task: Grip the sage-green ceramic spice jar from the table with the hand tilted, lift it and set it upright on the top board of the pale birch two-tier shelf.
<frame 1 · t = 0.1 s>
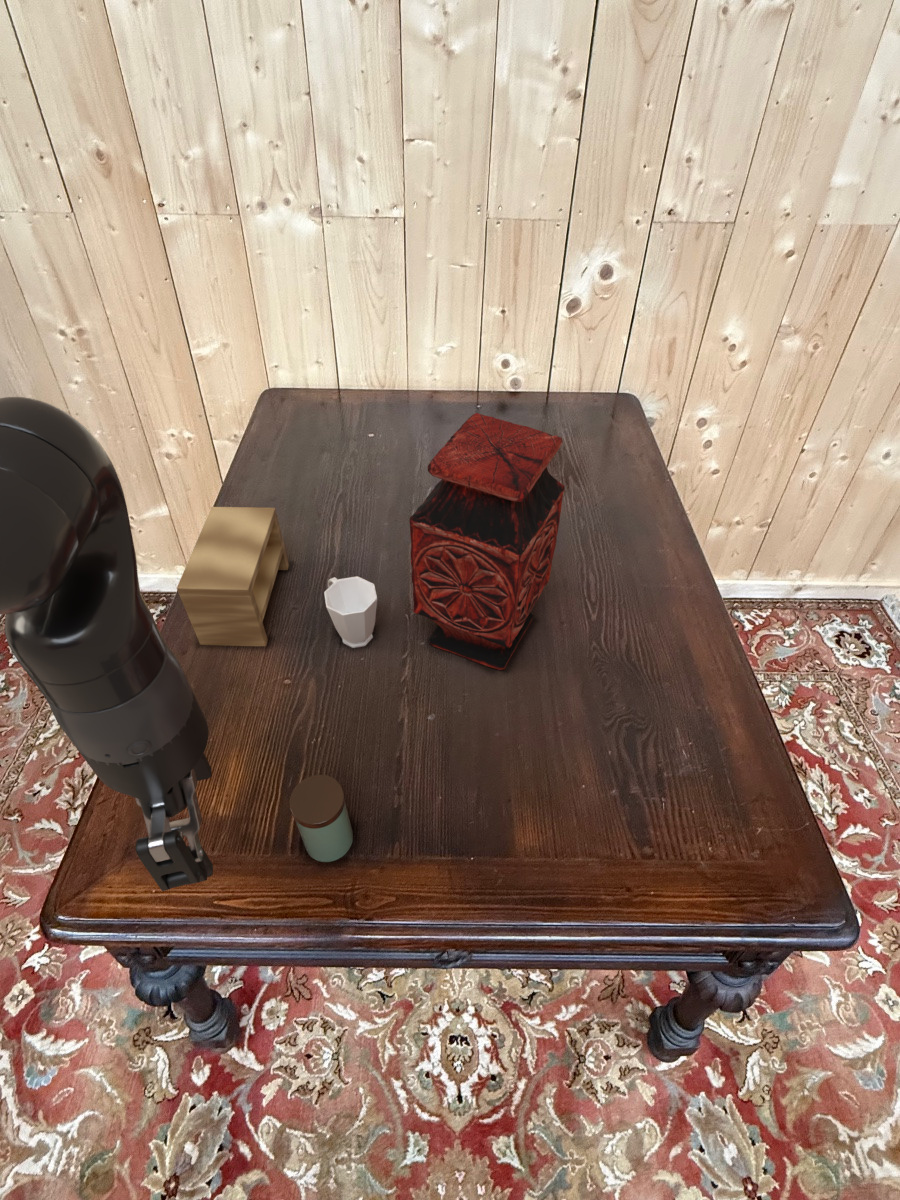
hand: (199, 823, 56), 19 cm above the table, tool pointing down, fingers open, 8 cm apart
shelf: (247, 602, 99), on the table
red carved wooden box: (482, 633, 95), on the table
cup: (351, 629, 95), on the table
jar: (328, 838, 75), on the table
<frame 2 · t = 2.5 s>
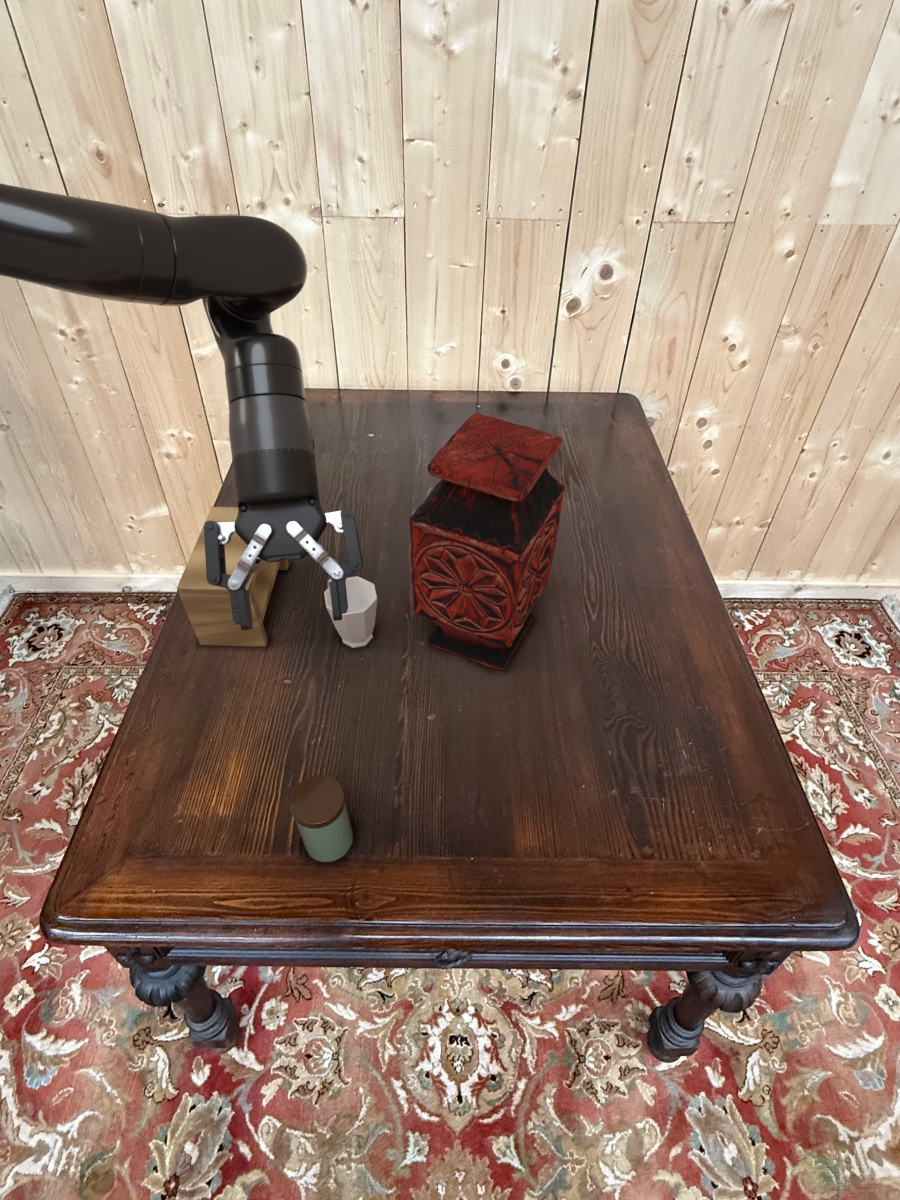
hand: (293, 624, 65), 23 cm above the table, tool tilted 45°, fingers open, 8 cm apart
nothing on the table moved.
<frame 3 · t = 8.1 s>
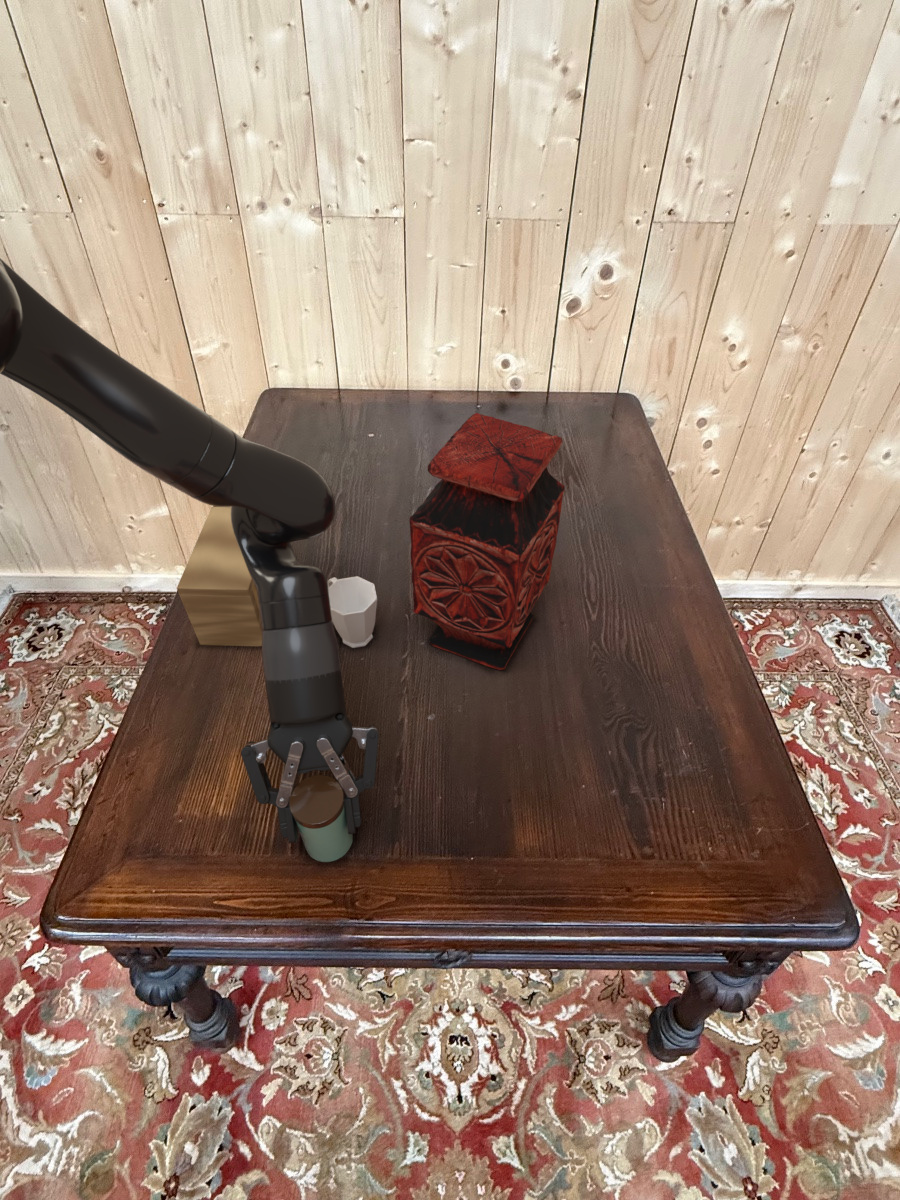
hand: (323, 835, 70), 5 cm above the table, tool tilted 45°, fingers closed on jar, 5 cm apart
jar: (328, 838, 75), on the table, touching gripper
everything else where it was.
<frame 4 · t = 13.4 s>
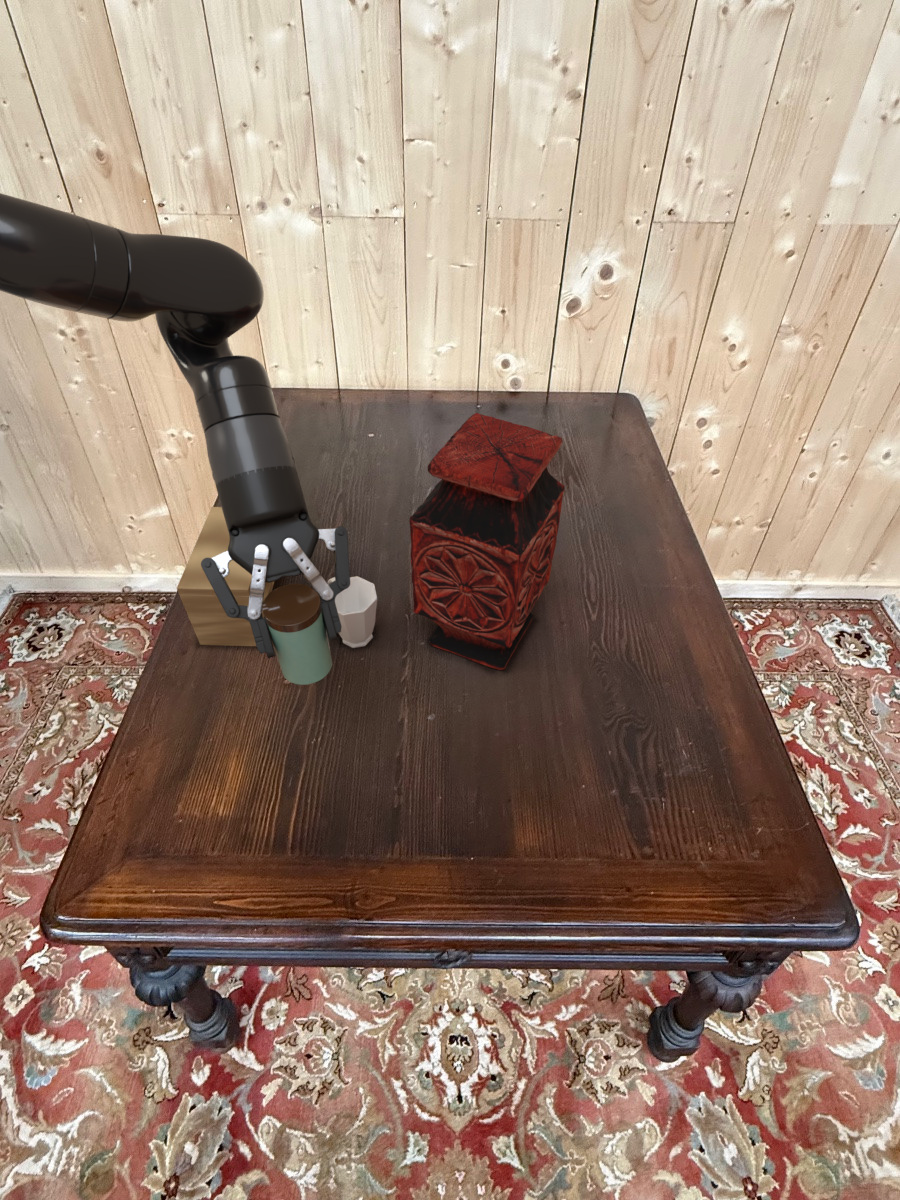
hand: (302, 647, 66), 21 cm above the table, tool tilted 45°, fingers closed on jar, 5 cm apart
jar: (306, 664, 70), point 16 cm above the table, touching gripper
everything else where it was.
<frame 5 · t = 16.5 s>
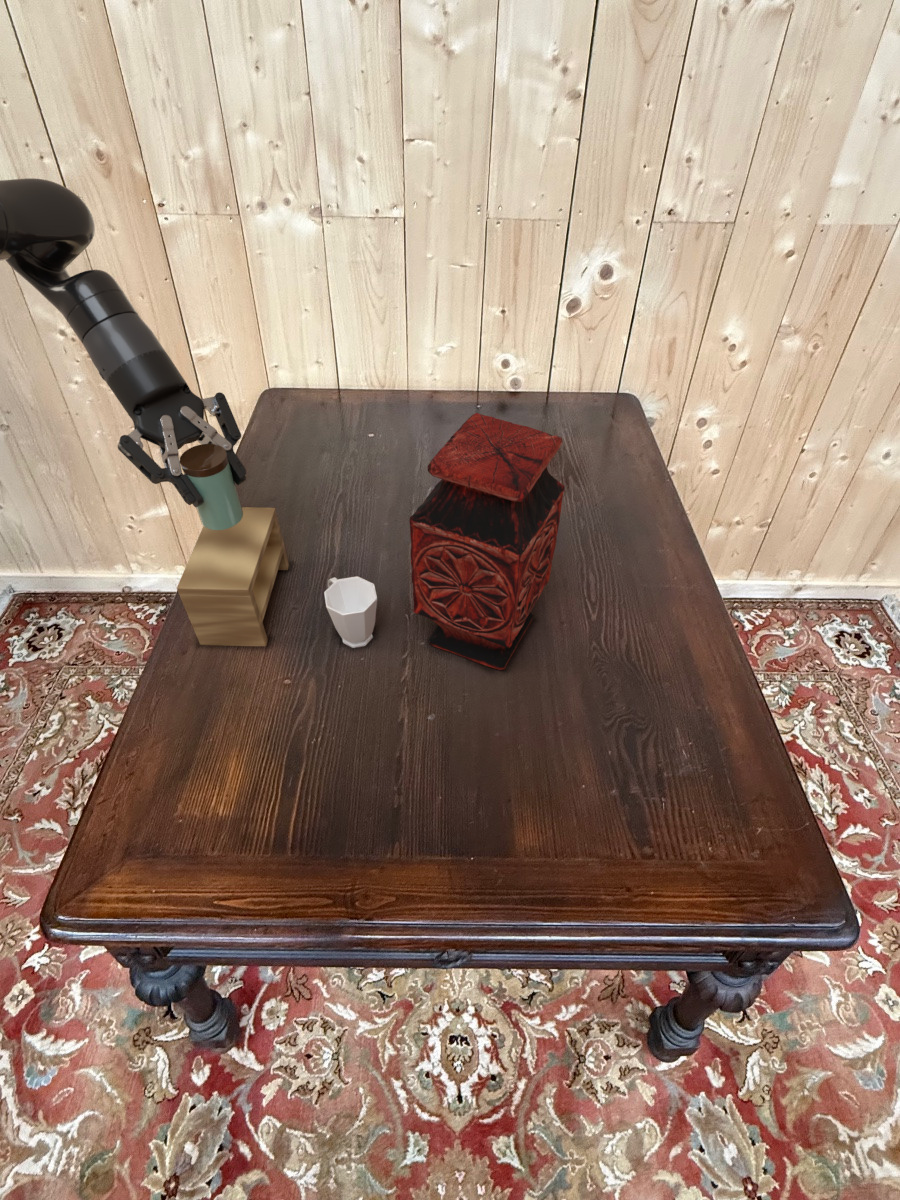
hand: (221, 492, 82), 21 cm above the table, tool tilted 45°, fingers closed on jar, 5 cm apart
jar: (222, 516, 87), point 16 cm above the table, touching gripper
everything else where it was.
when the fingers open (16 cm above the table, at t = 19.1 s): jar stays where it is, resting on shelf.
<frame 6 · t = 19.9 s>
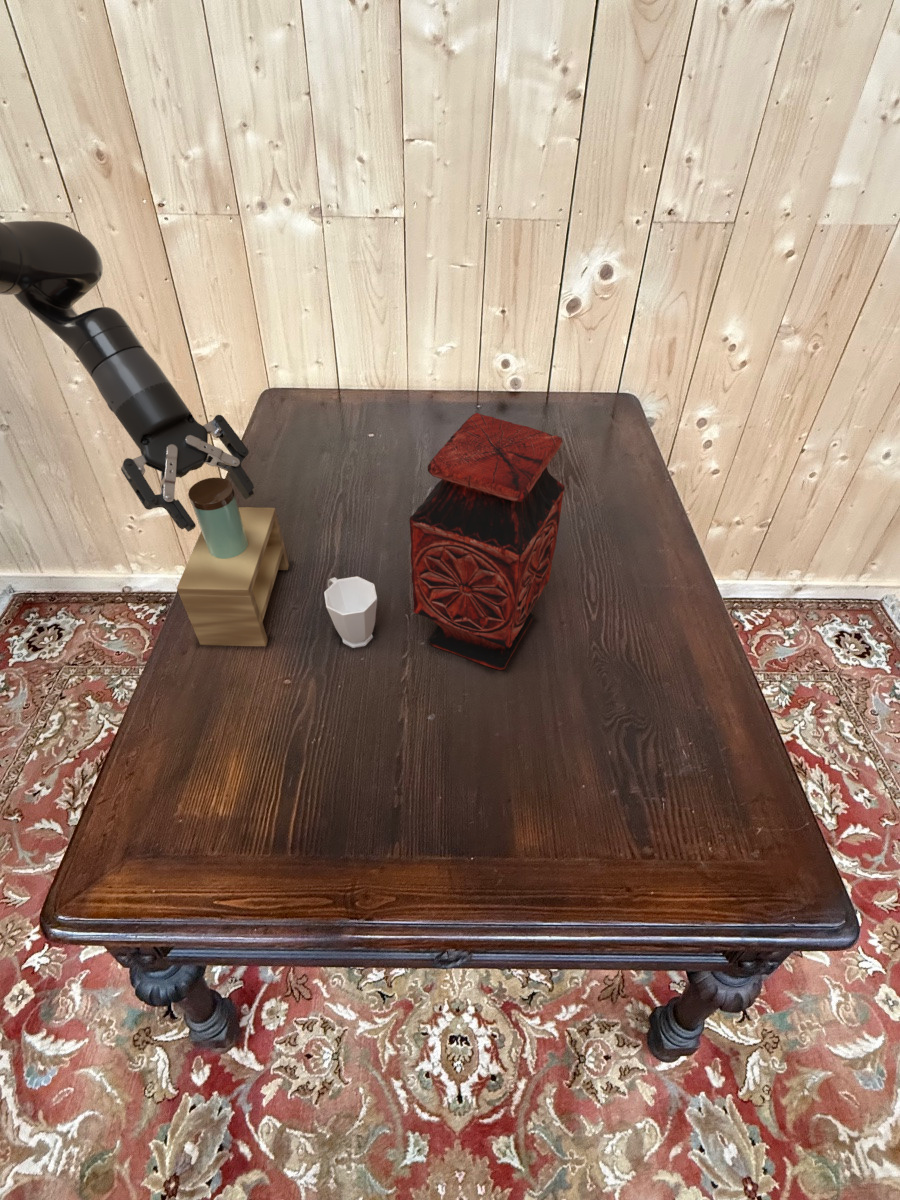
hand: (221, 512, 86), 17 cm above the table, tool tilted 45°, fingers open, 8 cm apart
jar: (228, 545, 91), point 11 cm above the table, touching shelf
everything else where it was.
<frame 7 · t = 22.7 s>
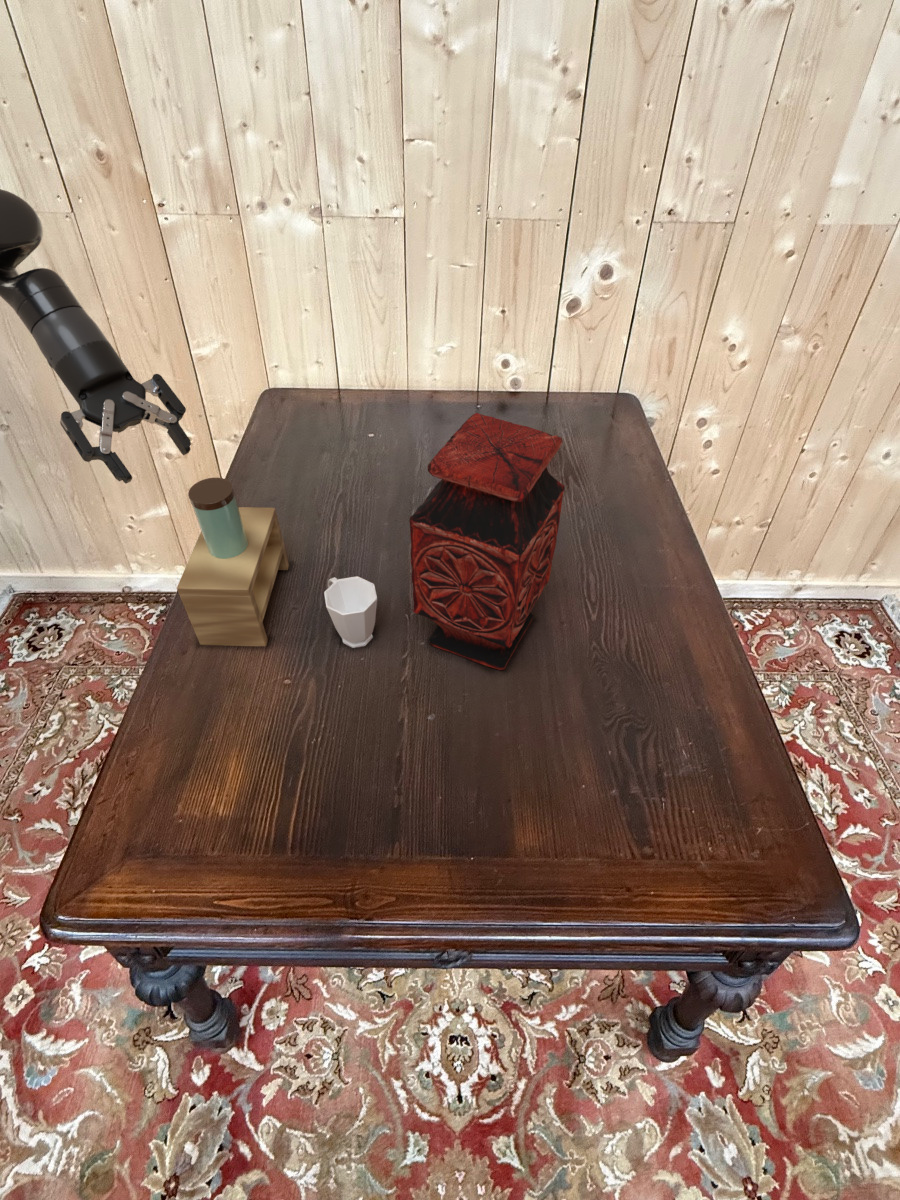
hand: (159, 466, 90), 19 cm above the table, tool tilted 45°, fingers open, 8 cm apart
nothing on the table moved.
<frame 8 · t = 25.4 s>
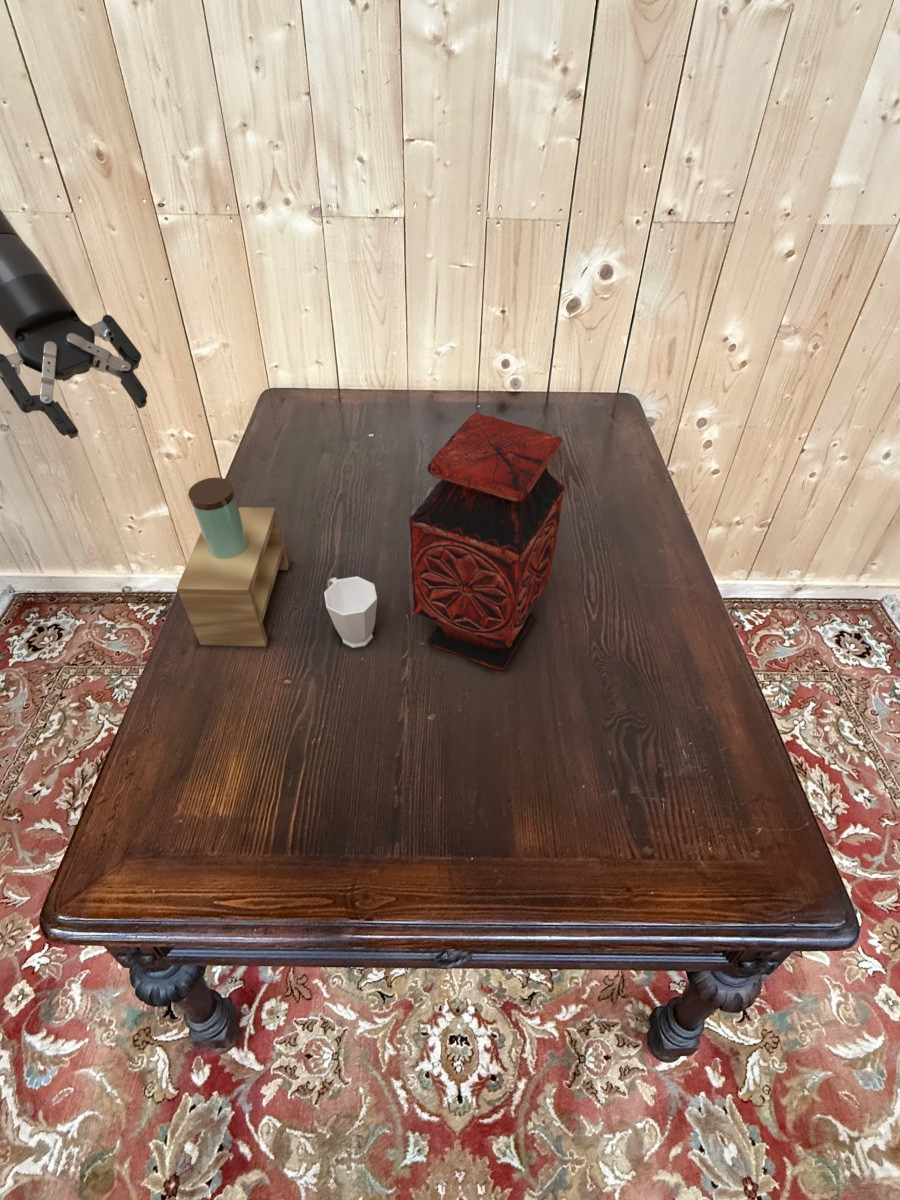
hand: (110, 419, 79), 29 cm above the table, tool tilted 45°, fingers open, 8 cm apart
nothing on the table moved.
at the end: jar inside the target area on the shelf (0.1 cm from its centre), point 11.0 cm above the shelf's base; jar tilted 0°; the gripper is holding nothing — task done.
